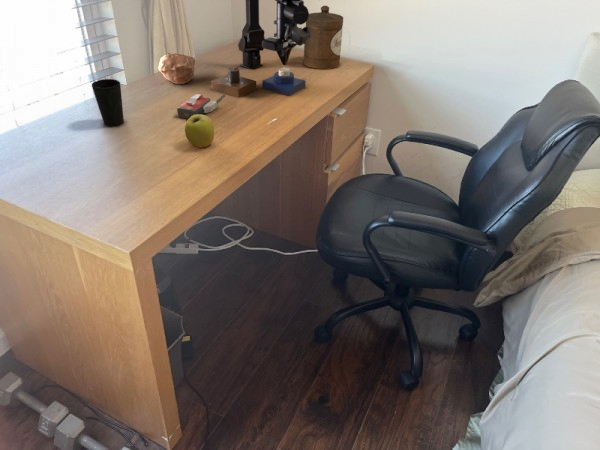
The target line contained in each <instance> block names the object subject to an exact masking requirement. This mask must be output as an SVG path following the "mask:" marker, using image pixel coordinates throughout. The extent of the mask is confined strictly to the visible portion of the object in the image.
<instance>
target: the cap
mask: <svg viewBox="0 0 600 450" xmlns="http://www.w3.org/2000/svg"><path fill="white" fill-rule="evenodd" d="M278 72H279V76H285V77H286V76H290V72H291V69H290V68H288V67H280V68H278Z"/></svg>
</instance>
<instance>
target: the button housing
mask: <svg viewBox="0 0 600 450" xmlns="http://www.w3.org/2000/svg"><path fill="white" fill-rule="evenodd" d="M306 82H307V81H306V80H305V79H301V78H297V77H295V73H293V72H292V71H290V76H286V77H285V76H279V71H276V72H274V74H273V75H272V76H270V77H268V78H265V79H263V80H262V81H261V88H262V89H264V90H268V91H271V92H275V93H278V94H282V95H286V96H289V97H291V96H292V95H294V94H296V93H299V92H300V91H303V90H305V89H306V85H307V83H306Z"/></svg>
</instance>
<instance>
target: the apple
mask: <svg viewBox="0 0 600 450" xmlns="http://www.w3.org/2000/svg"><path fill="white" fill-rule="evenodd" d="M184 135H185V137H186V140H187V141H188V142H189V144H190V145H191V146H195V147H197V148H206V147H208V146H210V145H211V144H212V143H213V141H214V139H215V126H214V123H213V121H212V120H211V119H210V117H208V116H207V115H204V114H201V115H193V116H191V117H190V118H189V119H188V118H187V120H186V122H185V125H184Z"/></svg>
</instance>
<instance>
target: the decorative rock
mask: <svg viewBox="0 0 600 450" xmlns="http://www.w3.org/2000/svg"><path fill="white" fill-rule="evenodd" d="M195 65H196V59H195V58H194V57H192V56H191V55H186V54H181V53H169V52H168V53H167V54H164V55H163V56H162V57H161V58H160V60H159V63H158V66H157V67H158V68H157V69H158V71H159V72H160V73H161V75H162V76H163V77H164V78H165V79H166V80H167V81H170V82H171V83H174V84H176V85H178V84H180V85H181V84H182V85H184V84H185V83H189V82H190V81H192V80H193V78H194V77H195Z"/></svg>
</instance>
